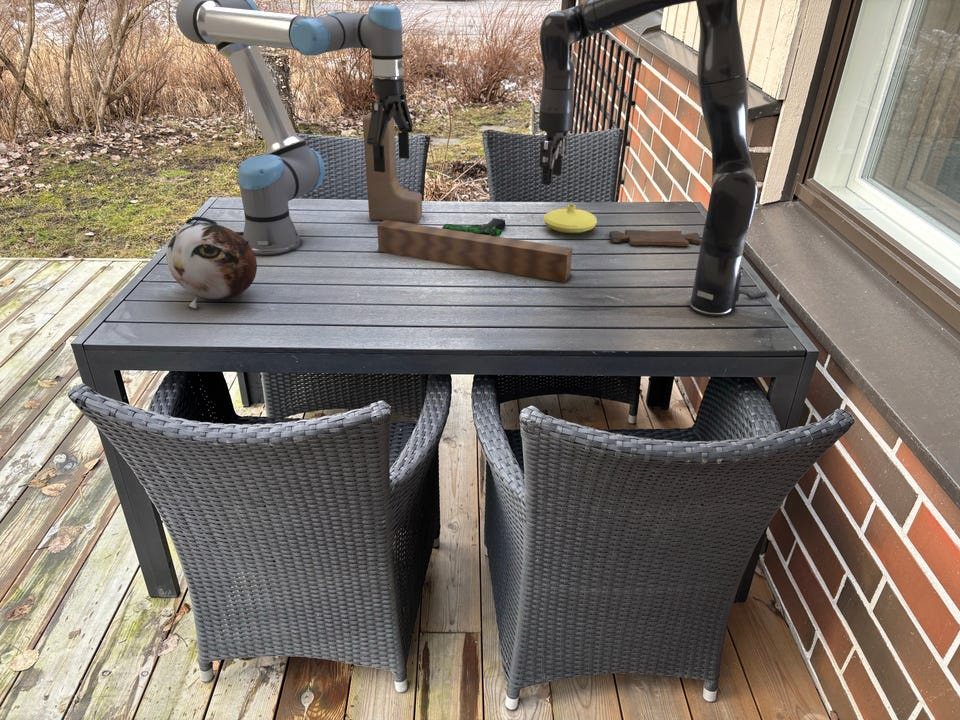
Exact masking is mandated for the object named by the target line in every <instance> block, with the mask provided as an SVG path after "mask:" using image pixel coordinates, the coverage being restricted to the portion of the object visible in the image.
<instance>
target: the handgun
mask: <svg viewBox="0 0 960 720" xmlns="http://www.w3.org/2000/svg"><path fill="white" fill-rule="evenodd" d="M441 228H443V229H449V230H456V231H462V232H469V233H476V234H482V235H489V236H496V237H501V236H502V230H504V229H505V228H506V220H505V219H503V218H497V217H492V219H491V220H490V221H489V222H488V223H483V224H482V225H479V224H472V225H459V224H453V223H445V224H443V226H442V227H441Z"/></svg>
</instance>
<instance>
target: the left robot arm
mask: <svg viewBox="0 0 960 720" xmlns="http://www.w3.org/2000/svg"><path fill="white" fill-rule="evenodd" d="M175 9H176V10H175V21H176V24H177V27H178V29H179V31H180V33H181V34H182V35H183V36H184V37H185V38H186V39H188V40H189V41H191V42H193V43H195V44H200V45H212V46H214V45H215V48H216V50H217V52H218V54H219V55H220V56H223V57H224V58H226V59H227V60H228V62H229V65H230V67H231V69H232V72H233V73H234V76H235V78H236V80H237V82H238V85H239V87H240V89H241V91H242V94H243V96H244V98H245V100H246V102H247V104H248V106H249V109H250V111H251V113H252V115H253V118H254V120H255V122H256V125H257V126H258V129H259V131H260V133H261V135H262V138H263V140H264V143H265V144H266V147H267V148H266V151H265V153H264V154H260V155H254V156H251V157H248V158H246V159H244V160H243V161H241V163H240V164H239V166H238V168H237V174H238V180H237V182H238V185H239V190H240V196H241V202H242V203H241V204H242V208H243V212H244V213H243V215H244V219H245V220H244V226H243V228H244V229H243V231H235V232H236V233H237V234H239V235H240V236H242V237H243V238H244V239H245V240H246V241H249V242H248V244H249V245H250V247H251V248H252V250H253V252H254V254H255V256H256V255H257V256H275V255H281V254H282V255H283V254H285V253H289V252H291V251H293V250H296V249H297V248H298V247H299V246H300V244H301V241H300V235H299V233H298V231H297V229H296V227H295V225H294V223H293V220H292V218H291V216H290V207H289V201H293V200H294V199H297V198H299V197H302V196H305V195H307V194H310V193H312V192H313V191H315V190H316V189H318V188H319V187H320V186H321V185H322V183H323V181H324V178H325V175H326V168H325V162H324V159H323V157H322V156H321V154H320V153H319V152H318V151H315V149H314V148H311V147H308V144H307V142H306V139H304V138H303V137H301V136H298V134H297V133H296V130H295V128H294V126H293V123H292V121H291V118H290V116H289V114H288V111H287V109H286V107H285V105H284V103H283V100H282V98H281V96H280V93H279V91H278V89H277V87H276V84H275V82H274V79H273V77H272V75H271V73H270V71H269V67H268V66H267V64H266V61H265V59H264V57H263V55H262V52H261V50H260V47H266V48H273V49H282V50H289V51H296V52H298V53H299V54H300V55H303V56H319V55H323V54H326V53H331V52H336V51H341V50H346V49H353V48H355V49H368V50H370V55H371V75H372V76H373V78H372V91H373V94H374V95H376V96H377V97H378V101H372V102H371V112H372V113H371V119H370V126H369V132H368V138H367V144H369V145H372V146H373V158H374V171H377V172H385V155H384V145H382V142H383V139H384V135H385V132H386V128H387V125H388V122H389V121H390V120H391V118H392V117H393V118H394V123H395V124H396V126H397V128H398V129H399V131H398V132H397V141H398V142H397V143H398V144H397V145H398V158H399V159H405V160H410V133H411V134H412V133H413V131H414V130H413V127H414V124H413V121H412V116H411V113H410V109H409V106H408V101H407V94H406V93H405V78H403V75H404V67H405V63H404V58H403V57H404V53H403V23H402V12H401V9H400V8H399V7H398V6H397V5H391V4H374V5H370V6H369V7H368V13H358V12H357V13H355V12H346V11H334V12H333V11H332V12H330V13H329V14H327V15H324V16H310V15H299V14H291V13H282V12H272V11H263V10H259V8H258V6H257V4H256V3H255V2H254V0H180V1H179V2H178V3H177V6H176V8H175ZM191 218H192V219H191ZM193 221H202V222H207V223H208V224H216V225H218V224H217V222H216V221H215V220H213V219H211V218H207V217H204V216H192V217H189V218H188V219H187V220H186V221H185V224H190V223H191V222H193Z"/></svg>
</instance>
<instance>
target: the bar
mask: <svg viewBox="0 0 960 720" xmlns="http://www.w3.org/2000/svg"><path fill="white" fill-rule="evenodd" d="M376 231H377V233H376V234H377V247H378V252H381V253H386V254H392V255H398V256H405V257H411V258H415V259H416V258H417V259H423V260H427V261H434V262H440V263H446V264H452V265H458V266H465V267H470V268H477V269H483V270H488V271H495V272H500V273H506V274H512V275H519V276H525V277H530V278H536V279H543V280H549V281H553V282H559V283H560V282H561V283H566V282H567V280H568V279H569V277H570V276H571V270H572V258H573V247H570V246H569V247H568V246H561V245H555V244H548V243H541V242H534V241H528V240H521V239H514V238H510V237H509V238H508V237H502V236H497V237H496V236H489V235H482V234H476V233H469V232H462V231H456V230H449V229H443V228H442V227H435V226H428V225H422V224H416V223H410V222H402V221H390V220H382V221H381V222H380V223H379V224H378V225H376Z"/></svg>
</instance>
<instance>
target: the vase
mask: <svg viewBox="0 0 960 720" xmlns="http://www.w3.org/2000/svg"><path fill="white" fill-rule="evenodd" d="M543 222H544V225H545V226H546V227H548V228H550V229H551V230H554V231H556V232H559V233H564V234H580V233H584V232H585V233H586V232H587V231H591V230H592V229H594V228H596V226H597V223H598V219H597V217H596V215H595V214H593V213H591V212H589V211H587V210H584V209H578V208H576V205H575V204H571V203H570V204H567V208H557V209H552V210H549V211H548V212H547V213H545V214H544V216H543Z"/></svg>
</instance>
